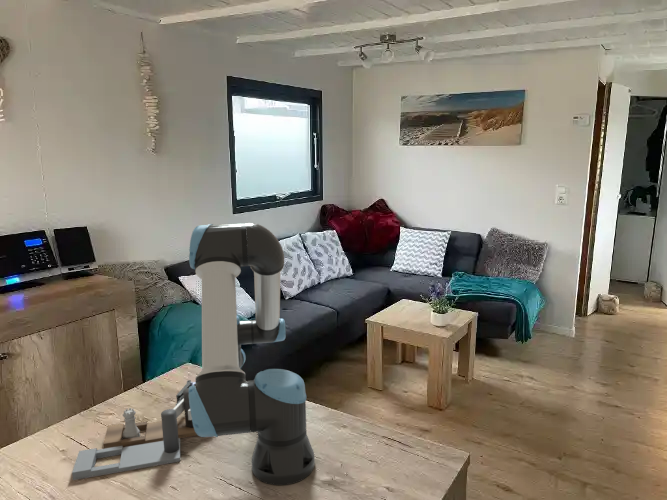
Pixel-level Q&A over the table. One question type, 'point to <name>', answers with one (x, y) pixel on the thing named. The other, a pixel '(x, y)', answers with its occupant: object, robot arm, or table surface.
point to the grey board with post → (133, 453)
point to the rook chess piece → (130, 425)
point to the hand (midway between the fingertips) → (181, 414)
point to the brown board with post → (149, 430)
